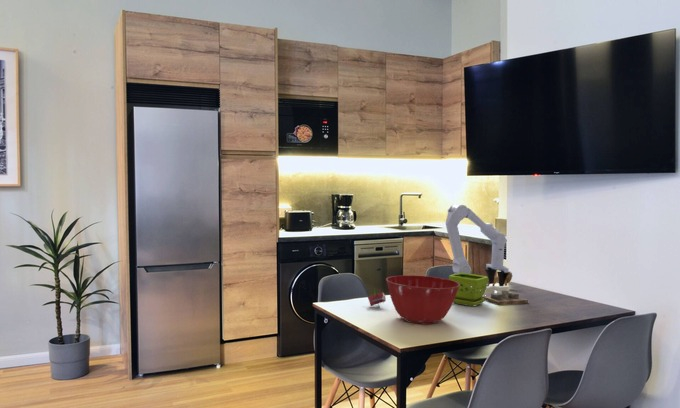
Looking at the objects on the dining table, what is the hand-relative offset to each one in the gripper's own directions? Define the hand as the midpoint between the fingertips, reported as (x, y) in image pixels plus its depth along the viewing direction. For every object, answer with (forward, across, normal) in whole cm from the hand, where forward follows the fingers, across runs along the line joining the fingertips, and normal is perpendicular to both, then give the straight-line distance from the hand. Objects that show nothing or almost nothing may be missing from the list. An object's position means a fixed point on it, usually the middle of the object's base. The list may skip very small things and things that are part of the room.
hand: (496, 284), depth 273 cm
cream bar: (+5, 0, 0) cm, 5 cm away
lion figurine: (+5, +14, -14) cm, 20 cm away
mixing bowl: (+5, -35, +64) cm, 73 cm away
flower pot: (+5, -14, +27) cm, 31 cm away
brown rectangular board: (+5, -14, +6) cm, 16 cm away
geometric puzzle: (+5, -10, +71) cm, 72 cm away
